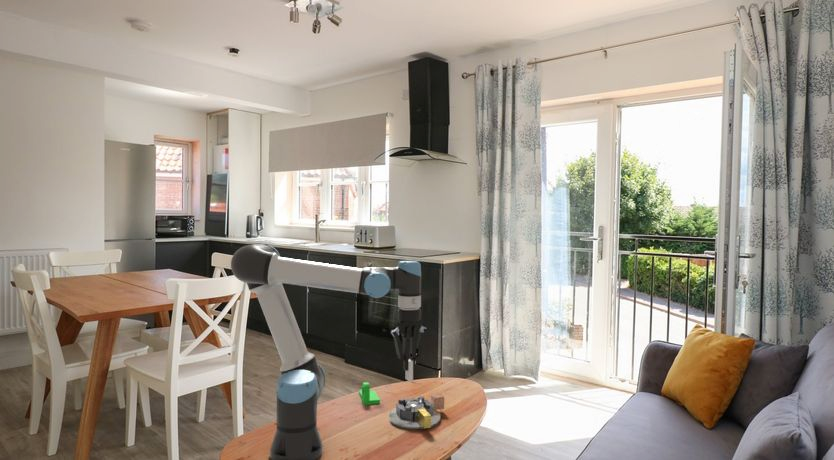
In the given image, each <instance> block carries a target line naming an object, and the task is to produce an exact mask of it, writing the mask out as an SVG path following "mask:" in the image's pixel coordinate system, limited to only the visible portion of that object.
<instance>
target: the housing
mask: <svg viewBox="0 0 834 460" xmlns="http://www.w3.org/2000/svg"><path fill="white" fill-rule="evenodd" d="M430 402H431V403H432V404H433V405H434V415H433V416H432V417H431V428H433V427H436V426H437V425H439V423H440V422H441V413H440V412H439V410H444V409H445V396H444V395H443V394H442V393H440V394H432V395H431V396H430ZM406 406H412V409H413V410H416V409H424V404H423V403H421V402H416V401H413V402H408V403H407V404H406ZM388 420H389V423H390V424H391V425H393V426H395V427H397V428H401V429H404V430H413V431H418V430H419V431H421V430H427V429H428V428H423V427H422V426H421V424H420V423H419V422H418V421H409V420H404V419H401V418H399V417H398V415H397V414H396V407H395V408H393V409H392V410H391V411H390V412H389V415H388Z"/></svg>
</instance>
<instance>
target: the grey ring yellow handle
mask: <svg viewBox="0 0 834 460" xmlns="http://www.w3.org/2000/svg"><path fill="white" fill-rule="evenodd" d="M413 401H416V402H421V403H423V404H424V409H416V410H413V409H412V406H406V404H407V403H408V402H413ZM395 405H396V406H395V408H396V414H397V415H398V417H399V418H401V419H404V420H409V421H418V422H419V423H420V424H421V426H422V427H423V428H427V429H430V428H432V427H431V417H432V416H433V415H434V405H433V404H432V403H431V400H429V399H425V396H421V395H420V396H418V397H413V398H399V399H398V402H396V404H395Z"/></svg>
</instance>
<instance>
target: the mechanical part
mask: <svg viewBox="0 0 834 460" xmlns="http://www.w3.org/2000/svg"><path fill="white" fill-rule="evenodd" d="M358 394H359V396H360V398H361V401H362V403H363V405H364V406H366V405H377V404H378V405H379V404H381V399H380V397H379V396H378V394H377V392H376V391H375V390H371V389H370V383H369V382H367V381H366V382H362V383H361V390H358Z"/></svg>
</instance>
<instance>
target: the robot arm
mask: <svg viewBox="0 0 834 460" xmlns="http://www.w3.org/2000/svg"><path fill="white" fill-rule="evenodd" d="M230 260H231V261H230V269H231V272H232V274H233V275H234V277H235V278H236V279H238V280H239V281H240V282H243V283H245V284H246V286H247V287H248V291H249V292H250V293H254V294H255V295H256V297H257V300H258V302H259V304H260V308H261V310H262V312H263V313H262V314H263V316H264V317H265V321H266V323H267V326H268V329H269V331H270V333H271V336H272V339H273V341H274V344H275V347H276V350H277V352H278V354H279V357H280V360H281V363H282V364H281V366H280V368H279V371H280V374H281V376H279V378H278V379H277V384H276V388H275V391H276V428H275V429H276V430H275V434H274V436H273V439H272V442H271V444H270V448H269V457H270V458H271V459H272V460H319V458H320V457H321V455H323V442H322V439H321V436H320V433H319V429H318V426H317V425H318V424H317V422H318V420H317V419H318V417H317V416H318V401H319V398H320V396H321V394H322V392H323V391H324V388H325V385H326V373H325V370H324V368H323V367H322V365H321V364H319V363H318V361H317V358H316V356H315V354H314V353H311V352H309V350H308V348H307V346H306V343H305V340H304V338H303V336H302V333H301V329H300V328H299V325H298V322H297V320H296V316H295V314H294V312H293V309H292V307H291V304H290V303H291V302H290V300H289V299H288V296H287V293H286V291H285V288H284V285H283V284H287V285H294V286H300V287H309V288H317V289H324V290H325V289H326V290H331V291H340V292H346V293H348V292H349V293H354V294H361V295H367V296H370V297H372V298H374V299H375V298H376V299H378V298H382V297H384V296H385V295H387V294H388V293H389V292H390V291H397V293H398V294H397V296H398V297H397V307H398V309H397V320H398V322H397V325H396V328H395V329H391V330H390V332H389V333H390V335H391V336H392V337H393V338H392V339H393V343H394V347H395V351H396V356H397V358H398V359H400V360H401V361H402V369H403V370H404V371H405V372H404V373H405V376H404V378H405V380H407V381H408V382H412V381H414V370H416V361H417V360H418V359H419V358H421V357H422V352H423V348H424V343H425V338H426V335H427V333H428V331H429V329H428V328H427V327H425V326H423V325H422V321H421V320H422V309H421V307H422V265H421V262H419V261H416V260H400V261H399V262H398V263H397V266H394V267H393V266H392V267H391V266H389V267H385V266H384V267H383V266H381V267H380V266H377V267H376V266H370V267H368V266H367V267H362V268H359V267H354V266H353V267H352V266H345V265H338V264H331V263H330V264H329V263H323V262H316V261H311V260H302V259H295V258H289V257H282V256H281V255H280V253H279V251H278V250H277V249H276V248H275V247H273V246H272V245H270V244H268V243H263V242H261V243H260V242H259V243H255V244H251V245H250V244H249V245H248V244H247V245H244V246H242V247H240V248H238V249H237V250H236V251H235V252H234V254H233V255H232V257H231V259H230ZM400 334H401V338H402V343H401V338H400ZM417 334H418V335H417ZM270 458H269V459H270ZM271 459H270V460H271Z"/></svg>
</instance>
